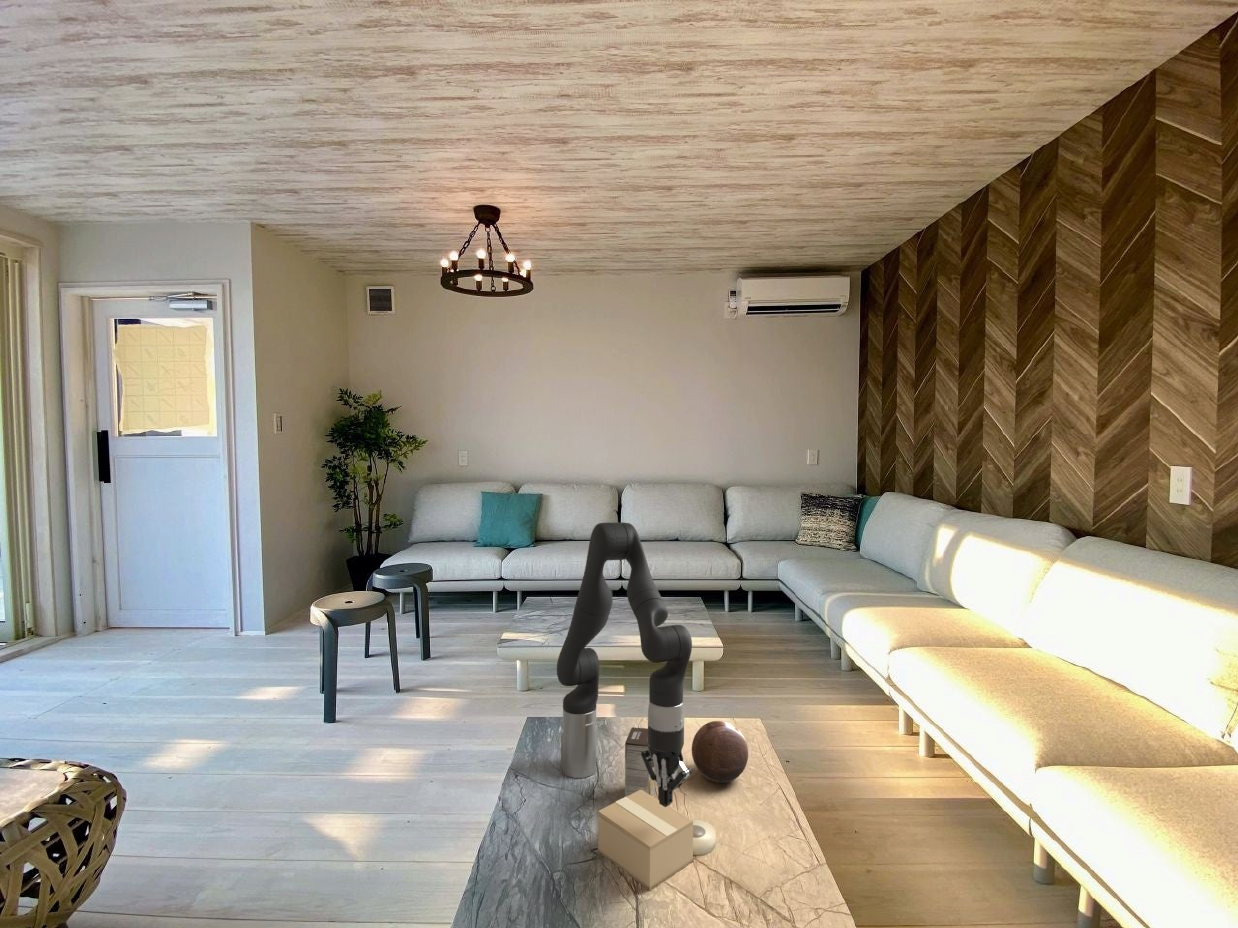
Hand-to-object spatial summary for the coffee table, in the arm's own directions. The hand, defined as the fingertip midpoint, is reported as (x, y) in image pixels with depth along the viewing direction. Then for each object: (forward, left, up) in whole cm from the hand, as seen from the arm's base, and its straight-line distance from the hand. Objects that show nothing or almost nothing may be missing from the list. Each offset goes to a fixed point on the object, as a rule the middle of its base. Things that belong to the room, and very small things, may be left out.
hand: (665, 804), depth 127 cm
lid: (-6, 0, -6) cm, 8 cm away
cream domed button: (-2, +12, -14) cm, 19 cm away
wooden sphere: (-15, +37, -14) cm, 43 cm away
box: (-6, 0, -14) cm, 15 cm away
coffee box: (-23, +15, -14) cm, 31 cm away
